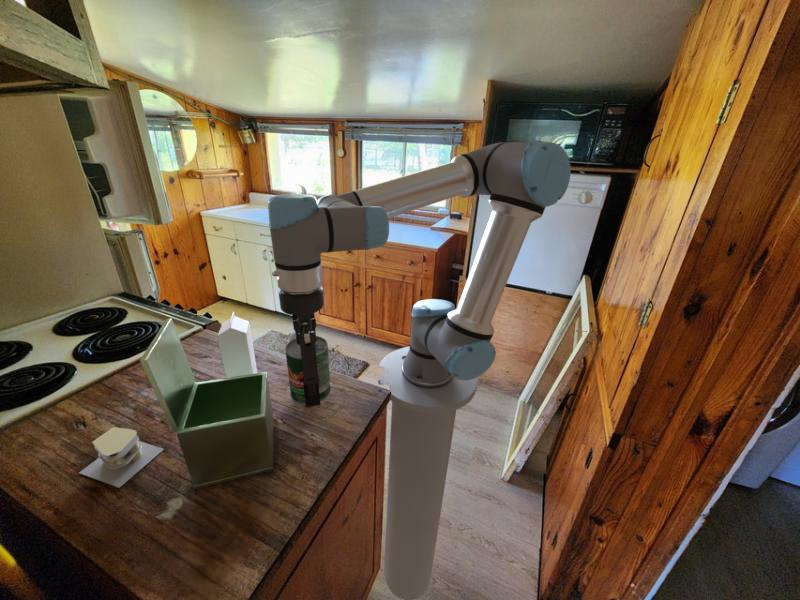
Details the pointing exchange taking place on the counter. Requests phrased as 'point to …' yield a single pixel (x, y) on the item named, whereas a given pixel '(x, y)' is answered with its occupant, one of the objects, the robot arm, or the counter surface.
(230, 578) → the counter surface
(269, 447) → the bin
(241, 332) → the milk
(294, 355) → the canned tomato
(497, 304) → the robot arm
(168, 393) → the lid
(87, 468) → the stacked layers on plate
